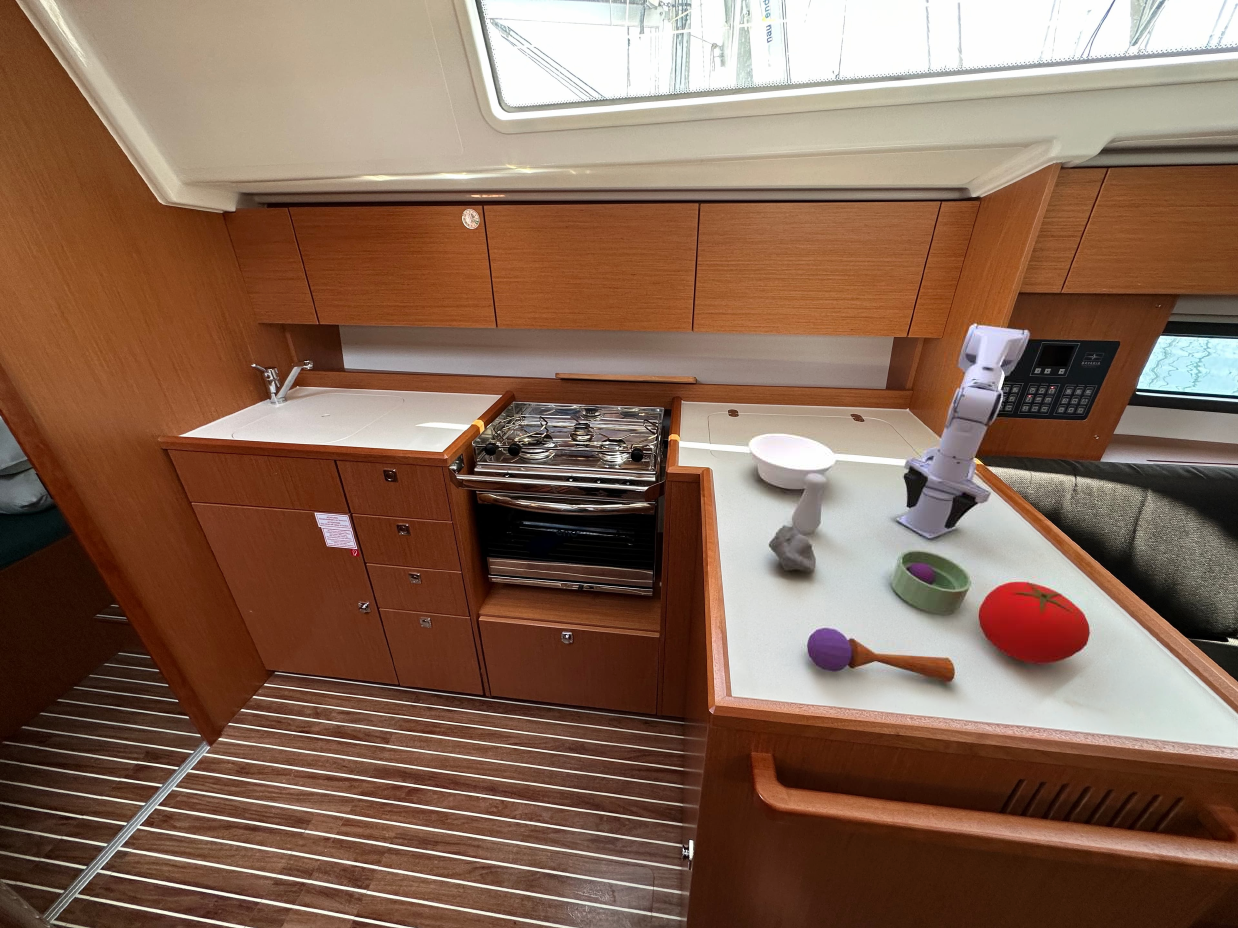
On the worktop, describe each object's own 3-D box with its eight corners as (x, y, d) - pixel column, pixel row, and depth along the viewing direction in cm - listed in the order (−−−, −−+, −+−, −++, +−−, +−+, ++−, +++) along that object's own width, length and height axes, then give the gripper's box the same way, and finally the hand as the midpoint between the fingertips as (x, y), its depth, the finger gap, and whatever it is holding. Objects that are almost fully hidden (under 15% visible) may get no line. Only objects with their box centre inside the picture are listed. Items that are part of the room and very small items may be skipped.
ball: (920, 588, 87) (913, 565, 89) (944, 585, 84) (936, 560, 85) (905, 589, 85) (898, 565, 87) (929, 586, 82) (921, 560, 83)
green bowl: (914, 567, 92) (923, 544, 89) (972, 604, 83) (985, 580, 80) (876, 582, 87) (885, 559, 85) (934, 623, 78) (946, 599, 76)
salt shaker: (819, 538, 99) (834, 485, 93) (791, 534, 100) (804, 481, 94) (815, 523, 104) (829, 471, 98) (788, 519, 105) (800, 468, 99)
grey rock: (815, 589, 85) (825, 554, 81) (763, 578, 87) (771, 543, 83) (812, 553, 94) (821, 520, 91) (766, 544, 97) (773, 511, 93)
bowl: (818, 509, 109) (827, 478, 106) (732, 483, 119) (737, 454, 115) (834, 474, 125) (842, 446, 122) (757, 453, 135) (762, 427, 131)
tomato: (950, 625, 78) (976, 574, 73) (1009, 612, 82) (1037, 561, 76) (1022, 686, 68) (1058, 631, 63) (1086, 667, 71) (1124, 614, 66)
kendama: (967, 679, 64) (819, 653, 65) (944, 699, 68) (805, 675, 69) (949, 640, 69) (811, 616, 70) (928, 661, 72) (798, 638, 73)
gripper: (903, 441, 89) (882, 502, 95) (985, 475, 77) (954, 542, 83) (926, 435, 91) (904, 495, 98) (1008, 467, 80) (978, 532, 86)
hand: (929, 516), depth 91 cm, fingers open, 7 cm apart
